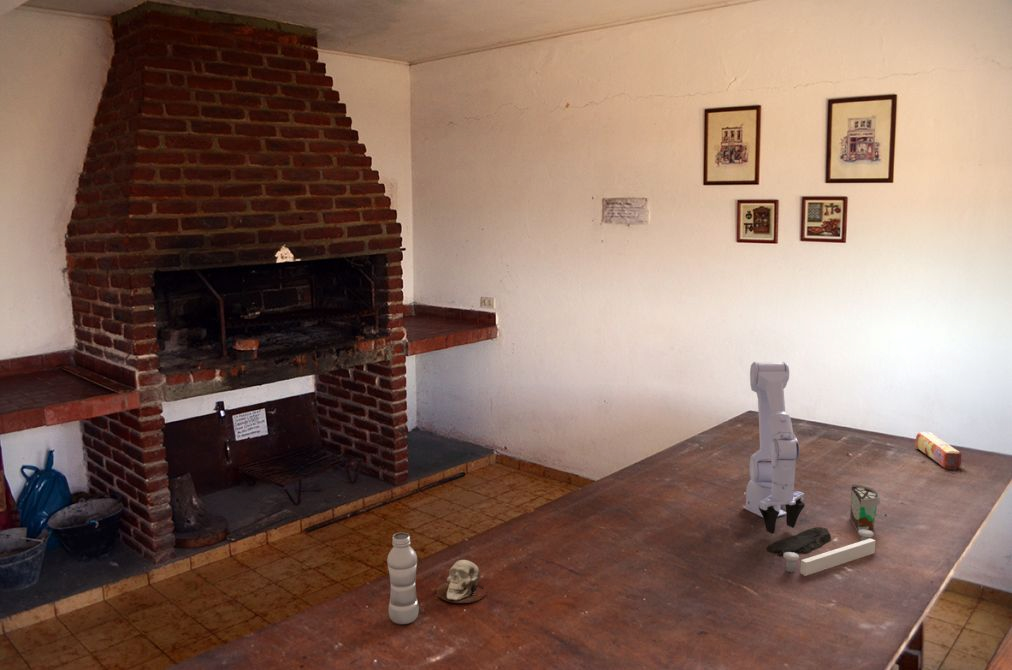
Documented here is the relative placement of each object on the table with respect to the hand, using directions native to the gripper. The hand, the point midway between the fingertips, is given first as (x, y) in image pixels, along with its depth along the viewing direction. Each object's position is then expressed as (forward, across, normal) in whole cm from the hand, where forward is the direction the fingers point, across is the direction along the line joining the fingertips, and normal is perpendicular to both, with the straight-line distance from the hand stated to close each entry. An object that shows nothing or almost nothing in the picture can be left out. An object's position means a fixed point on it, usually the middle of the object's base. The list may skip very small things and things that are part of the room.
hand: (780, 529), depth 215 cm
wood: (+2, 0, -8) cm, 8 cm away
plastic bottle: (+2, -106, +8) cm, 106 cm away
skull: (+2, -89, +13) cm, 90 cm away
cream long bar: (+1, 0, -17) cm, 17 cm away
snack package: (+2, +92, +17) cm, 94 cm away
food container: (+2, +24, -8) cm, 26 cm away
